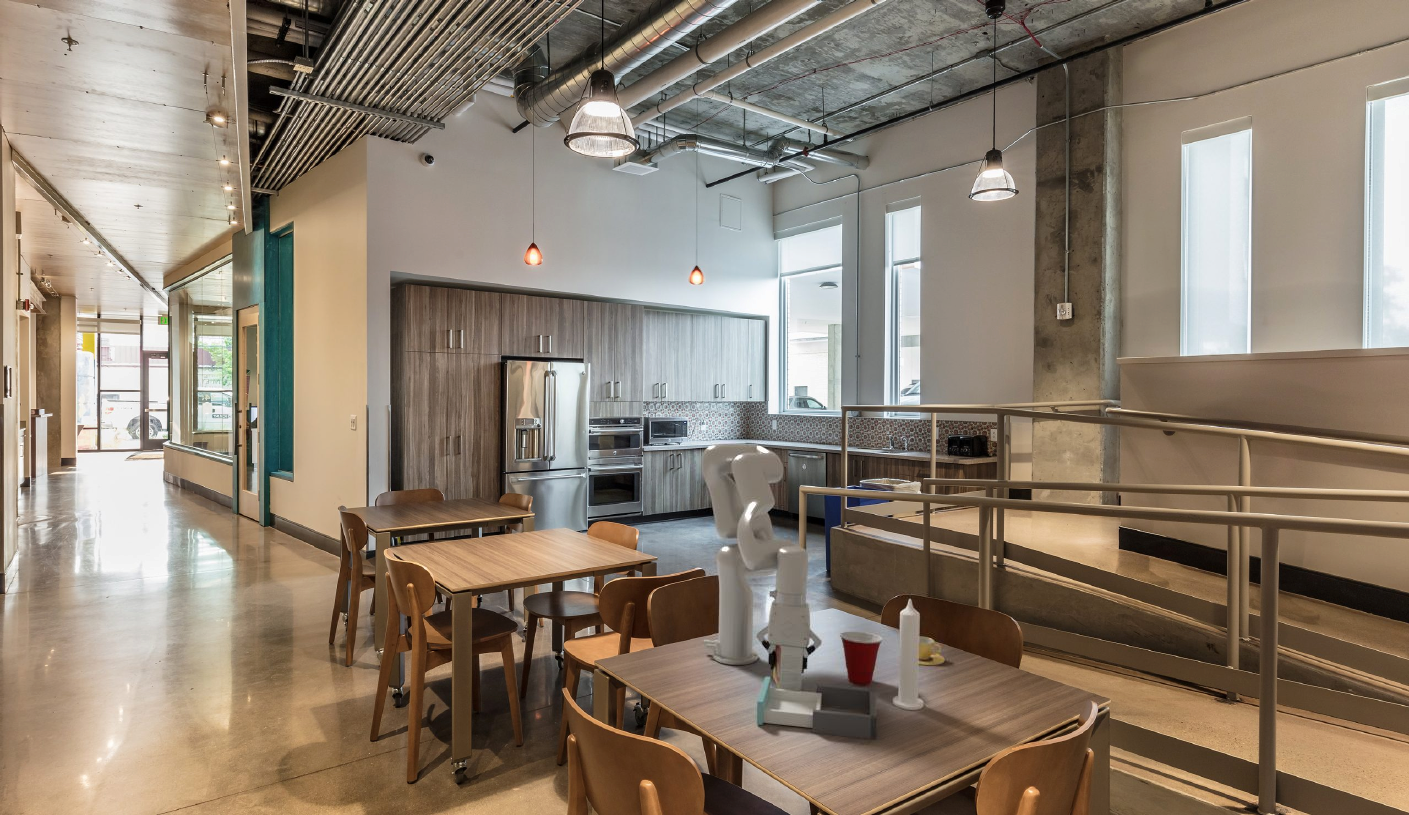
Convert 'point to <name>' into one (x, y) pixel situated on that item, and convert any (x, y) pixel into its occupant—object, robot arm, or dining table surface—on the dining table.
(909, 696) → the candle
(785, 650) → the small box
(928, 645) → the cup
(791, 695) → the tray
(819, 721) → the bay
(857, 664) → the plastic cup
